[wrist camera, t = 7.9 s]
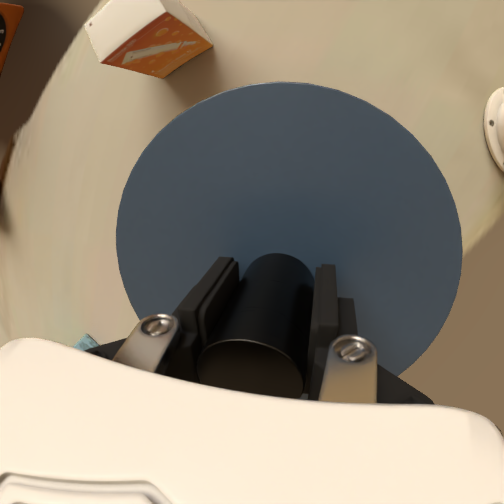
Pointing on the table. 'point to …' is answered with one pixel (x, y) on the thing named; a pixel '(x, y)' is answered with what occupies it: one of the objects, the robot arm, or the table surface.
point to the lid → (291, 228)
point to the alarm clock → (8, 28)
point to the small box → (146, 35)
